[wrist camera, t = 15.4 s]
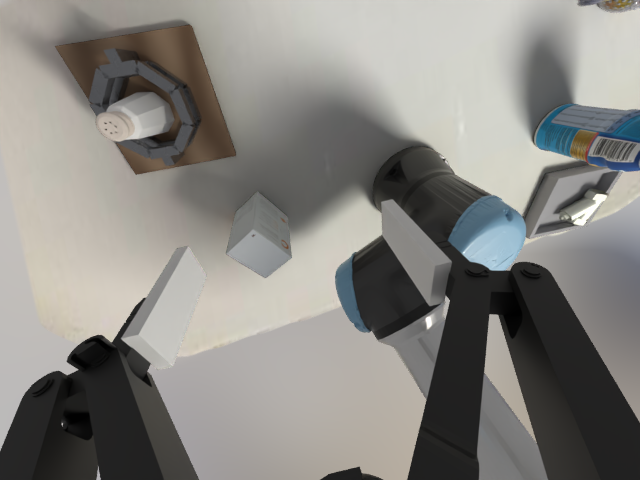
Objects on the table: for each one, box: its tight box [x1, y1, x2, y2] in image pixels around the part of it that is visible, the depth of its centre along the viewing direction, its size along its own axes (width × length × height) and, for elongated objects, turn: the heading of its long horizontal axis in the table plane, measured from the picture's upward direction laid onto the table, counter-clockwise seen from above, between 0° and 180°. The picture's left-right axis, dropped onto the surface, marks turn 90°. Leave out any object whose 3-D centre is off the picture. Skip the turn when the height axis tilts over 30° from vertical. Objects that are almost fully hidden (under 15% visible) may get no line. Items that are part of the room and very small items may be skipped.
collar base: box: [55, 25, 236, 175], centre depth 34 cm, size 16×16×1 cm
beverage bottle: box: [534, 104, 640, 172], centre depth 38 cm, size 8×8×20 cm
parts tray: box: [524, 165, 623, 239], centre depth 56 cm, size 16×16×3 cm
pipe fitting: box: [559, 189, 609, 225], centre depth 56 cm, size 8×4×7 cm
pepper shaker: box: [96, 92, 175, 142], centre depth 29 cm, size 5×5×11 cm
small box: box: [226, 191, 292, 278], centre depth 41 cm, size 8×6×13 cm
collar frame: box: [89, 48, 202, 166], centre depth 31 cm, size 10×13×5 cm
